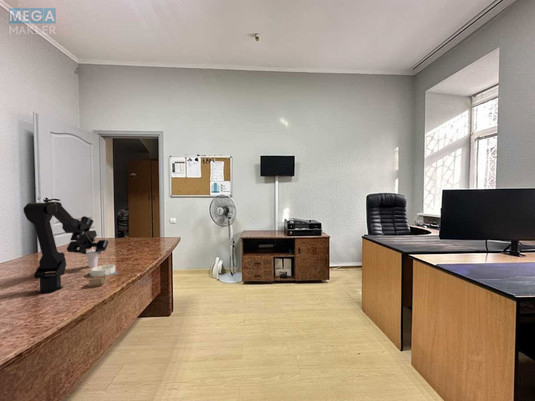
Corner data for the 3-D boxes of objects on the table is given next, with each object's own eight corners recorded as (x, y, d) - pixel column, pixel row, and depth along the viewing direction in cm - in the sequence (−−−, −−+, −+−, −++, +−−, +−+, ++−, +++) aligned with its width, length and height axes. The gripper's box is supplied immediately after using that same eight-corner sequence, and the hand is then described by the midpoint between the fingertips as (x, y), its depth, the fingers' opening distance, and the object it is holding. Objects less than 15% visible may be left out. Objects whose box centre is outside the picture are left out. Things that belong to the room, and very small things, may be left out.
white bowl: (105, 276, 120) (105, 270, 120) (85, 276, 121) (85, 270, 121) (119, 270, 131) (119, 264, 131) (101, 270, 131) (101, 264, 131)
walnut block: (101, 287, 107) (101, 278, 107) (89, 288, 106) (88, 279, 106) (106, 283, 112) (106, 275, 112) (94, 284, 111) (93, 276, 111)
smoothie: (97, 265, 142) (97, 241, 142) (101, 267, 138) (100, 243, 138) (84, 267, 137) (84, 243, 137) (87, 269, 133) (87, 245, 133)
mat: (118, 274, 125) (118, 273, 125) (90, 279, 117) (90, 278, 117) (114, 269, 134) (114, 268, 134) (88, 273, 126) (88, 273, 126)
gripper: (106, 226, 135) (115, 241, 146) (69, 227, 132) (81, 242, 143) (99, 242, 127) (109, 257, 138) (60, 244, 124) (73, 259, 135)
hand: (94, 253), depth 139 cm, fingers closed on smoothie, 6 cm apart
